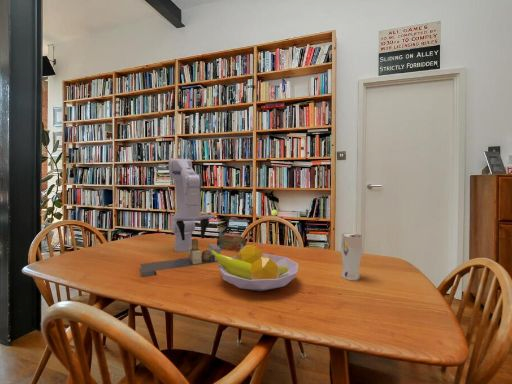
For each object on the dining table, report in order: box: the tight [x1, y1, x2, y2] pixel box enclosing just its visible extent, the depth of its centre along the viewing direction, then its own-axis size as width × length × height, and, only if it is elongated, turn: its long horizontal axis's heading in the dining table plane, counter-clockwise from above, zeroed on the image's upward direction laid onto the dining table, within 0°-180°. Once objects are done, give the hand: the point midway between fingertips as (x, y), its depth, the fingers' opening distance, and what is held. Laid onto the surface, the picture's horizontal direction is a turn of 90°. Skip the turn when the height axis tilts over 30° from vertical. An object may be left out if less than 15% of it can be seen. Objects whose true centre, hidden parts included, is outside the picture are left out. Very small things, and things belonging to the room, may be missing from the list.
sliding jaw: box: [188, 238, 202, 264], centre depth 107 cm, size 8×3×8 cm, turn 26°
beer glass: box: [340, 232, 363, 281], centre depth 94 cm, size 7×7×15 cm
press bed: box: [139, 243, 222, 278], centre depth 105 cm, size 10×30×6 cm, turn 116°
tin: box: [216, 234, 248, 253], centre depth 123 cm, size 15×3×8 cm, turn 62°
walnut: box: [201, 249, 211, 261], centre depth 109 cm, size 4×4×4 cm
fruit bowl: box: [211, 244, 299, 292], centre depth 90 cm, size 28×27×11 cm
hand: (192, 238), depth 106 cm, fingers open, 7 cm apart
